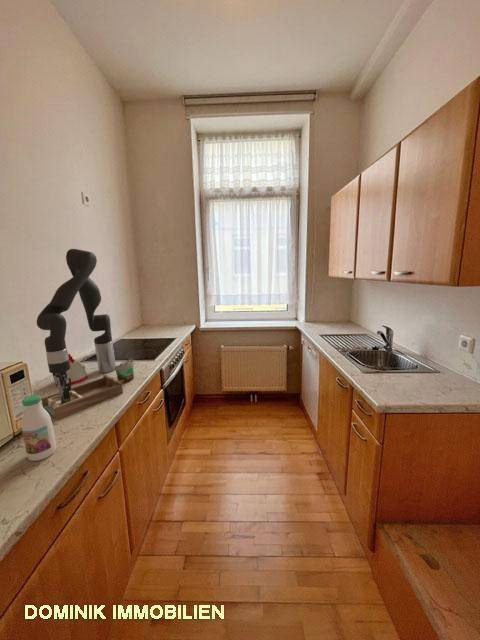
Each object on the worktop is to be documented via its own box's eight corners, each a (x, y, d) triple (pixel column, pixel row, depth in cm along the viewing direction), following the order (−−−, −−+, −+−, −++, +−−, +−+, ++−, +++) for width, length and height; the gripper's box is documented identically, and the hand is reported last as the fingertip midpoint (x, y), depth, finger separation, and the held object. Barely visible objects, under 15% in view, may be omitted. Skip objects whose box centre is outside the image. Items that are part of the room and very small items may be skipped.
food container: (127, 385, 137) (125, 366, 135) (116, 384, 138) (114, 366, 136) (140, 375, 148) (138, 358, 146) (130, 374, 150) (128, 357, 148)
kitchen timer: (77, 373, 154) (73, 348, 151) (92, 377, 148) (88, 351, 145) (52, 383, 142) (47, 356, 139) (67, 387, 136) (62, 359, 133)
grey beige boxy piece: (48, 405, 116) (44, 386, 114) (73, 396, 124) (70, 377, 122) (58, 413, 109) (54, 393, 107) (84, 403, 117) (81, 384, 115)
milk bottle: (38, 446, 91) (26, 392, 87) (61, 444, 92) (51, 391, 87) (22, 463, 83) (8, 404, 79) (48, 460, 84) (36, 403, 80)
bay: (43, 408, 116) (40, 396, 115) (106, 384, 138) (105, 374, 137) (56, 420, 107) (54, 407, 106) (123, 392, 128) (121, 382, 127)
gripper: (42, 359, 114) (49, 396, 117) (54, 366, 105) (61, 406, 108) (62, 354, 119) (68, 389, 123) (74, 360, 111) (81, 398, 114)
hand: (65, 397), depth 116 cm, fingers closed on grey beige boxy piece, 3 cm apart
